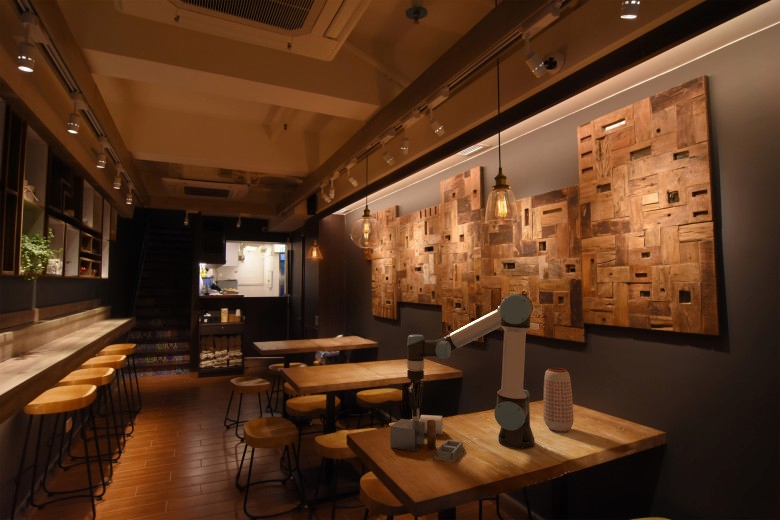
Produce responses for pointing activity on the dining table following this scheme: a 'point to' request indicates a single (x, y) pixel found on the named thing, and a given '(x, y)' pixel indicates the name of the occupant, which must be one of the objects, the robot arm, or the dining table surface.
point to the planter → (558, 400)
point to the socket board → (449, 451)
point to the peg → (431, 434)
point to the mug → (438, 422)
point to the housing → (407, 434)
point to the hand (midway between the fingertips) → (415, 422)
